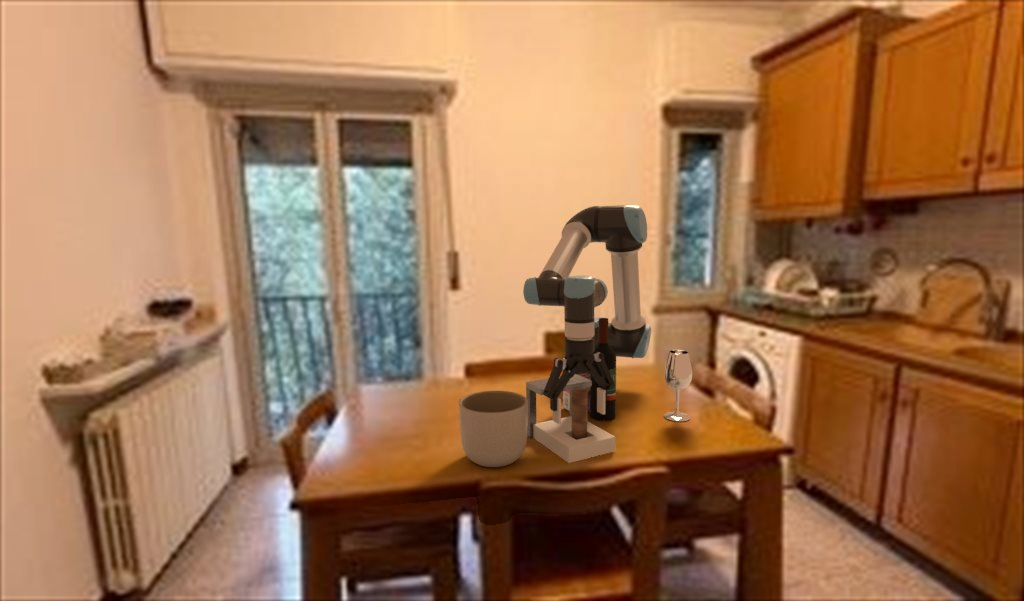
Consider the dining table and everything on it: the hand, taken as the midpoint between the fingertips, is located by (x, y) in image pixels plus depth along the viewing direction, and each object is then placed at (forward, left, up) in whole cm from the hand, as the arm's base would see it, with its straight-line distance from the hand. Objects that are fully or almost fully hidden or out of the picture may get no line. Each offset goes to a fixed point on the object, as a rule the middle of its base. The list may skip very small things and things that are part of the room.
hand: (579, 417), depth 146 cm
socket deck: (0, -3, -8) cm, 9 cm away
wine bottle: (-19, -16, -9) cm, 26 cm away
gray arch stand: (0, -10, -8) cm, 13 cm away
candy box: (-19, -25, -9) cm, 32 cm away
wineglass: (-38, -5, -9) cm, 39 cm away
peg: (0, 0, -8) cm, 8 cm away
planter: (+22, -5, -9) cm, 24 cm away
